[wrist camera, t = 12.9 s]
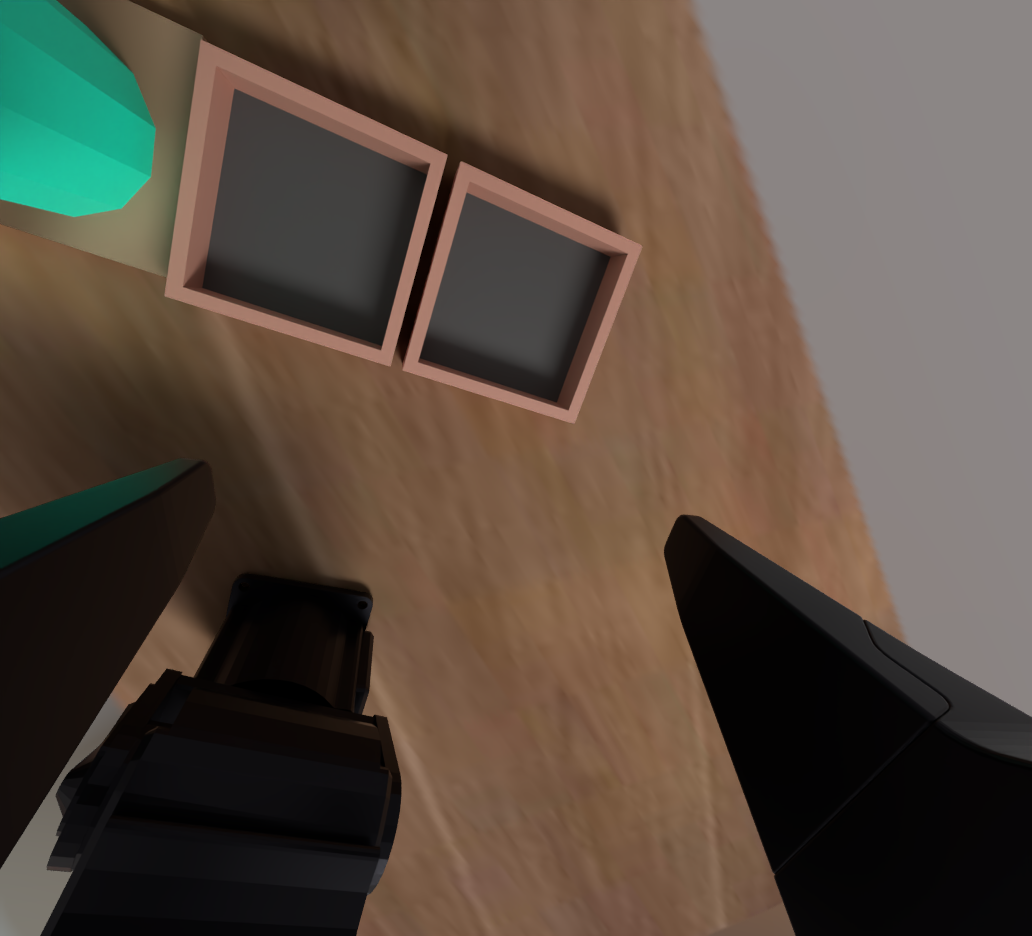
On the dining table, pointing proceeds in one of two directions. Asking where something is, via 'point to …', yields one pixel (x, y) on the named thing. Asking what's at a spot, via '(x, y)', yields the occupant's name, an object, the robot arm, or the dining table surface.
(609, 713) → the dining table surface
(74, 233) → the pad
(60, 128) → the candle
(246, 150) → the tray
